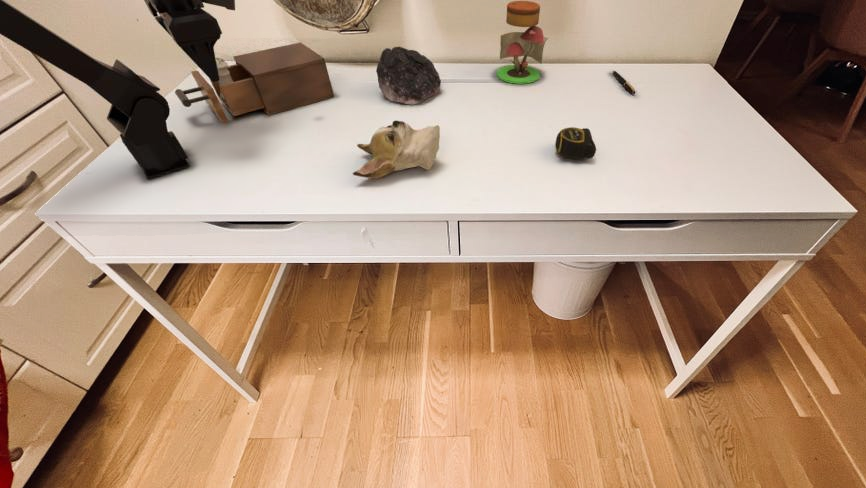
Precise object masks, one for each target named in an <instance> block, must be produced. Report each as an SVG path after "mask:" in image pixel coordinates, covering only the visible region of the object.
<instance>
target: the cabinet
mask: <svg viewBox="0 0 866 488" xmlns="http://www.w3.org/2000/svg"><path fill="white" fill-rule="evenodd" d="M233 60H234V63H235V64H239V65H240V66H241V67H242V68H243V69H245V70H246V71H247V72H248V73H249V74H250V75H251V76H252V77H253V78H254V81H255V83H256V86H257V88H258V91H259V93H260V96H261V98H262V101H263V103H264V106H265V108H262V109H261V110H263V111H264V112H265V113H266V114H267V115H268V116H273V115H276V114H280V113H282V112H286V111H290V110H293V109H297V108H301V107H304V106H308V105H311V104H314V103H318V102H321V101H325V100H329V99H332V98H335V94H334V90H333V86H332V82H331V78H330V74H329V70H328V67H327V63H326V58H325V57H323V56H321V55H320V54H318V53H317V52H316V51H314V50H313V49H311V48H310V47H308V46H307V45H305V44H304V43H302V42H300V41H299V42H296V43H291V44H285V45H280V46H276V47H271V48H267V49H262V50H257V51H252V52H248V53H243V54H238V55H233Z"/></svg>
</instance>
